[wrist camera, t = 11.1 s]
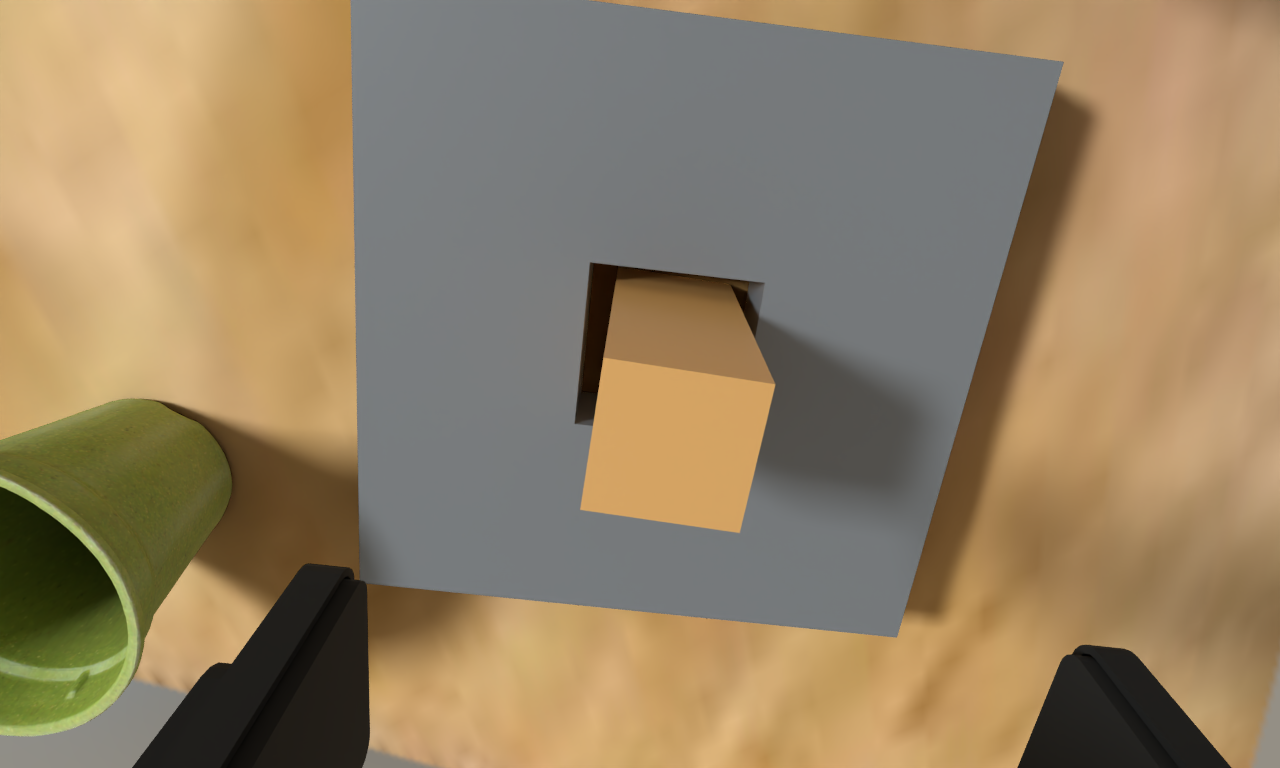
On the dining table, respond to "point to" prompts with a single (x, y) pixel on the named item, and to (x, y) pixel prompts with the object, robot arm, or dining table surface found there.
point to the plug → (677, 404)
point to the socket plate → (675, 242)
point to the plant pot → (95, 552)
